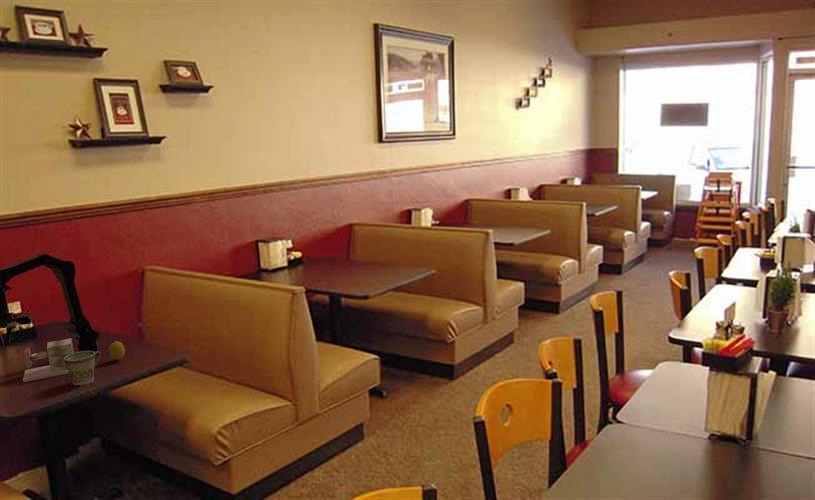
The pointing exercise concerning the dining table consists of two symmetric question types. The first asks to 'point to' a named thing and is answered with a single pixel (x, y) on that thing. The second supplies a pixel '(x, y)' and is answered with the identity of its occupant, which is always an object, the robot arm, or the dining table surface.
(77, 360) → the ceramic cup
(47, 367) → the mounting plate
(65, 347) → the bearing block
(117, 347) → the lemon
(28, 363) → the shaft
